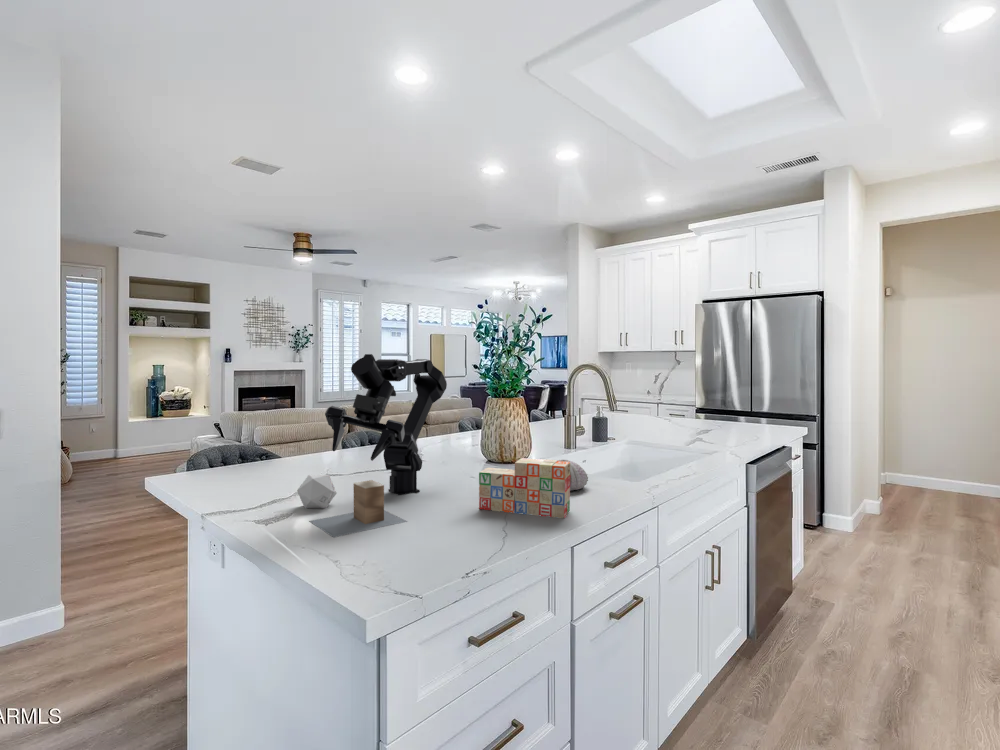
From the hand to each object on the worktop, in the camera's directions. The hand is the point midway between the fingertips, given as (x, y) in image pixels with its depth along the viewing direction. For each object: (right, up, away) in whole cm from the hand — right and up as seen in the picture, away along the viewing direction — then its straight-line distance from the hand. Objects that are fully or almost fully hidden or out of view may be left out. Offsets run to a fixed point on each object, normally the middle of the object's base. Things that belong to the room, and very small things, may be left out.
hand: (352, 455), depth 123 cm
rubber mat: (+3, -14, -5) cm, 15 cm away
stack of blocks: (+40, -15, +5) cm, 43 cm away
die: (-11, -14, +8) cm, 19 cm away
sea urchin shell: (+52, -14, +29) cm, 61 cm away
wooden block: (+5, -14, -3) cm, 15 cm away
